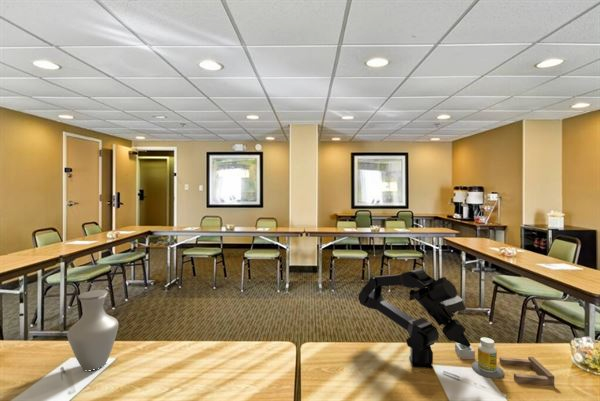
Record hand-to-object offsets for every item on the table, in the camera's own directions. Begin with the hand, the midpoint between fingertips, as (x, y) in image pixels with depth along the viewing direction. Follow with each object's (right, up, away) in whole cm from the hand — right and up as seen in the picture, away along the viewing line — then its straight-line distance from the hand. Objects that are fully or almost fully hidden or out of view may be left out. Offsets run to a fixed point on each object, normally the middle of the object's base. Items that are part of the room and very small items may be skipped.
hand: (463, 338), depth 103 cm
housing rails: (+18, -10, -3) cm, 21 cm away
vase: (-125, -10, +1) cm, 126 cm away
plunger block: (+5, -10, +8) cm, 13 cm away
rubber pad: (+7, -10, -1) cm, 12 cm away
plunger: (+5, -9, +8) cm, 13 cm away
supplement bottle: (+7, -10, -1) cm, 12 cm away
